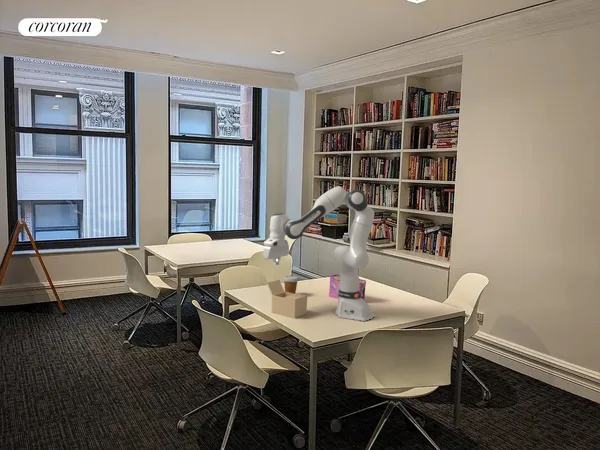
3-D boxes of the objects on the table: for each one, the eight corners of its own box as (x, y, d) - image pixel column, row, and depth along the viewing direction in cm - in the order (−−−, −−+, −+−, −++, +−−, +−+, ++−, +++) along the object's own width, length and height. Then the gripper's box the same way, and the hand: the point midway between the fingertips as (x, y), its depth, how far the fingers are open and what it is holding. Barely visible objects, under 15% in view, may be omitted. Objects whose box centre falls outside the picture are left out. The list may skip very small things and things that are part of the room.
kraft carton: (306, 313, 284) (307, 295, 283) (294, 318, 274) (295, 299, 273) (283, 308, 293) (284, 290, 292) (271, 312, 283) (272, 294, 282)
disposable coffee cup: (300, 295, 324) (301, 277, 323) (292, 298, 316) (293, 279, 315) (287, 292, 329) (288, 275, 327) (280, 295, 321) (280, 277, 319)
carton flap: (279, 279, 293) (278, 280, 294) (267, 282, 284) (266, 283, 284) (284, 291, 292) (283, 291, 292) (272, 295, 282) (271, 295, 283)
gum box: (366, 301, 317) (368, 280, 315) (360, 303, 311) (362, 282, 309) (334, 294, 331) (335, 274, 329) (328, 296, 324) (329, 276, 323)
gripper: (283, 238, 295) (282, 261, 297) (261, 242, 278) (261, 266, 280) (292, 240, 292) (291, 263, 293) (270, 243, 275) (269, 268, 277)
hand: (276, 264), depth 287 cm, fingers closed
